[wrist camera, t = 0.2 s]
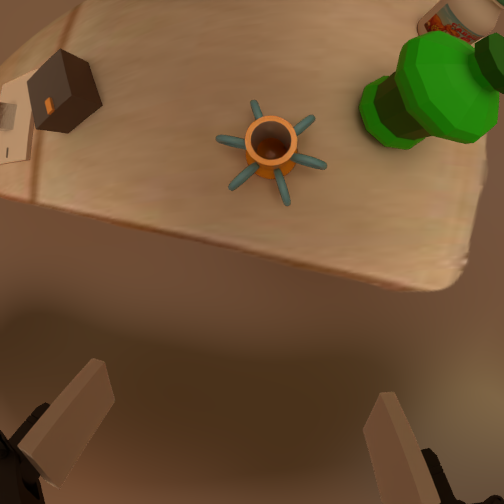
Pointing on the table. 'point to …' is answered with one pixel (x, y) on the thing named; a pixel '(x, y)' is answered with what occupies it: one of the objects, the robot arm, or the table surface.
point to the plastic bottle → (437, 91)
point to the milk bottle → (462, 18)
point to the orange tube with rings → (271, 149)
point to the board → (16, 120)
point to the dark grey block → (62, 93)
